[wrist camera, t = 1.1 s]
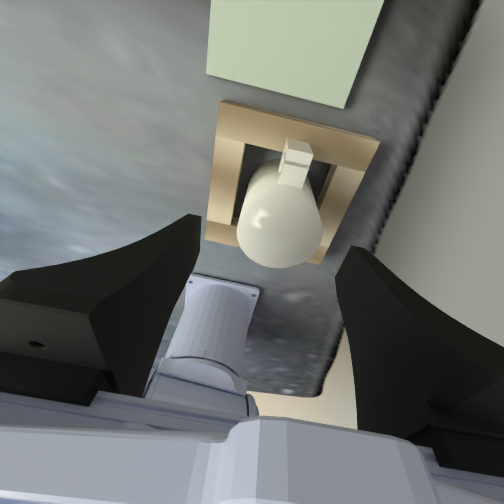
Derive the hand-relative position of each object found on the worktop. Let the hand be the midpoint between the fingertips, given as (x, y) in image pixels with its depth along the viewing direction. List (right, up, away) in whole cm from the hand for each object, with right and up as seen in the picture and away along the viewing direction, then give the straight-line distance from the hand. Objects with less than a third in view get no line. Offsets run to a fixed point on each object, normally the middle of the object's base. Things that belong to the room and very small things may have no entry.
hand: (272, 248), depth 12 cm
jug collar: (+1, +5, +8) cm, 10 cm away
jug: (+1, +5, +8) cm, 10 cm away
